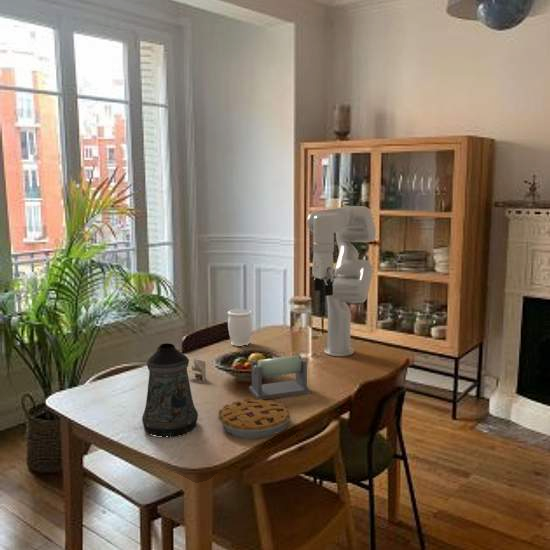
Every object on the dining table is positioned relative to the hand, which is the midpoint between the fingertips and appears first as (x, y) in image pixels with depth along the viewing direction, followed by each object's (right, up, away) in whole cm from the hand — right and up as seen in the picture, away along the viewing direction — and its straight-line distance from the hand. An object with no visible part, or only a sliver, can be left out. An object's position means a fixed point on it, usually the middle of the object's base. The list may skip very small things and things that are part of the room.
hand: (323, 292), depth 219 cm
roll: (-17, -28, -17) cm, 37 cm away
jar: (-34, -24, +40) cm, 58 cm away
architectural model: (-47, -32, -2) cm, 57 cm away
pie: (-25, -39, -42) cm, 63 cm away
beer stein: (-51, -39, -42) cm, 77 cm away
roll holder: (-17, -34, -16) cm, 41 cm away
